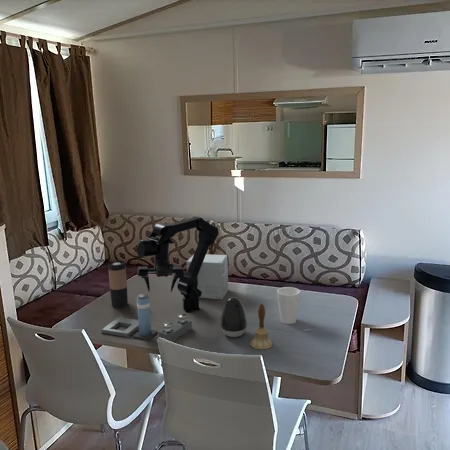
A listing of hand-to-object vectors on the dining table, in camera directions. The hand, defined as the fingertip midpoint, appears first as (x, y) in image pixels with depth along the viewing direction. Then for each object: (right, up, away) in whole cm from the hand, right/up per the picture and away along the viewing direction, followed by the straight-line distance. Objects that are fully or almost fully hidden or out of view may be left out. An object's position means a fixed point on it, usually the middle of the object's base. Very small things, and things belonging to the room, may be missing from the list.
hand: (160, 291), depth 188 cm
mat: (-4, -16, -11) cm, 19 cm away
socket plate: (-14, -14, -5) cm, 21 cm away
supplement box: (+19, -6, +31) cm, 37 cm away
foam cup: (+53, -12, -1) cm, 55 cm away
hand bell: (+41, -17, -20) cm, 48 cm away
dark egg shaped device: (+31, -15, -12) cm, 36 cm away
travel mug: (-21, -9, +20) cm, 31 cm away
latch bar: (+8, -15, -10) cm, 20 cm away
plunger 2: (+10, -13, -7) cm, 18 cm away
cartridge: (-4, -15, -11) cm, 19 cm away
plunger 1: (+5, -15, -15) cm, 21 cm away
